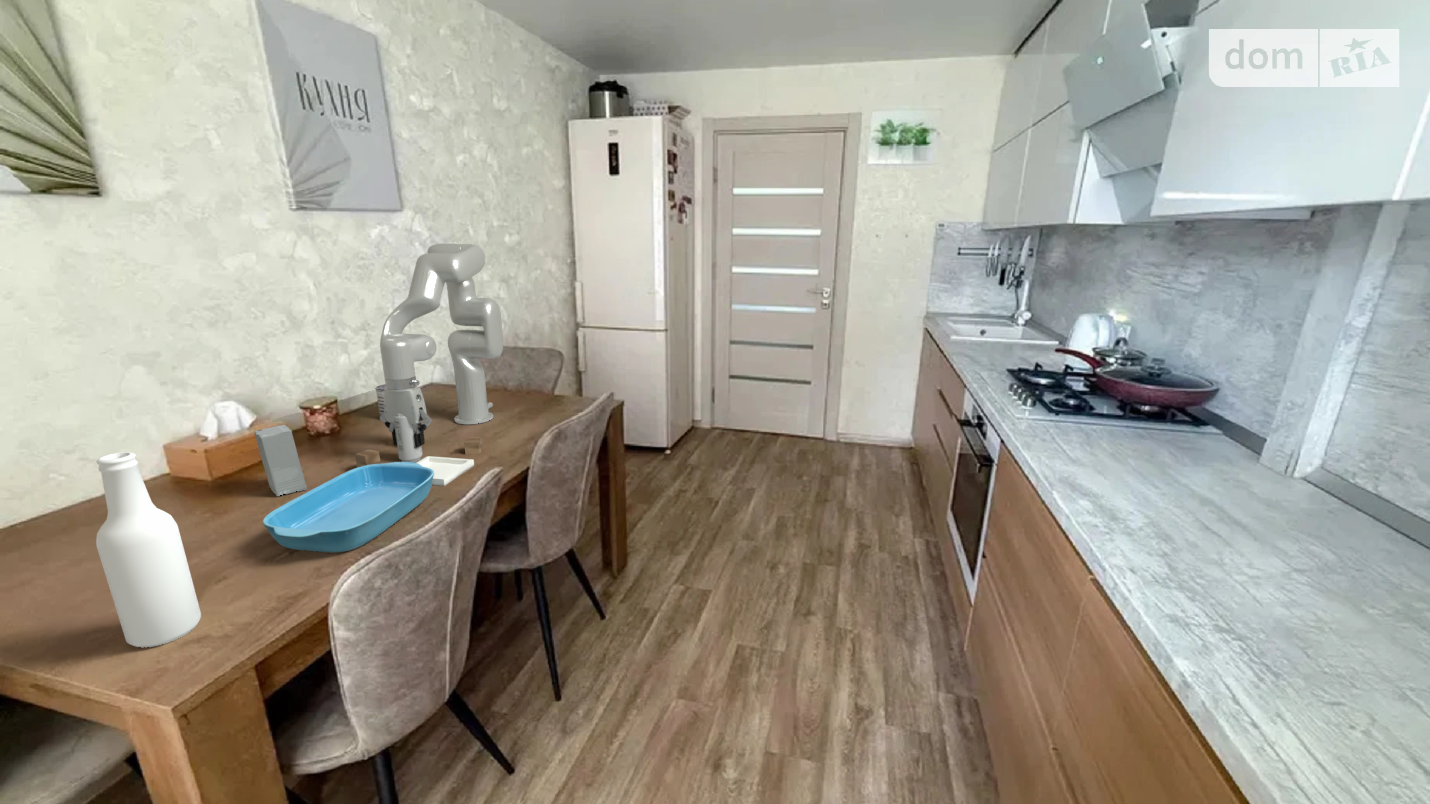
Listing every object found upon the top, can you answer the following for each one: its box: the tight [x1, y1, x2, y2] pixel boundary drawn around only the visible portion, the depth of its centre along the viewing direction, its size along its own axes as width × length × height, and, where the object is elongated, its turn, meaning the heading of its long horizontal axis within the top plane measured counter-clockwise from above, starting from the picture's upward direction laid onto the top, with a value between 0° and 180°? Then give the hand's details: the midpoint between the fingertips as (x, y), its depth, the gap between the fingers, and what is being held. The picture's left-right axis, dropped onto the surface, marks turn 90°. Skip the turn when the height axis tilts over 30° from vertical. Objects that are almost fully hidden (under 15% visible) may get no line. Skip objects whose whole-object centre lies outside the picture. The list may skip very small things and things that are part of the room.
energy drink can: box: [393, 413, 423, 463], centre depth 160 cm, size 6×6×15 cm
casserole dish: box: [262, 461, 434, 553], centre depth 127 cm, size 37×22×7 cm, turn 174°
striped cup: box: [374, 383, 386, 418], centre depth 199 cm, size 11×11×12 cm
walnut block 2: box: [463, 436, 483, 455], centre depth 169 cm, size 4×4×4 cm
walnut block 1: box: [354, 448, 382, 468], centre depth 154 cm, size 4×4×5 cm
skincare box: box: [253, 424, 308, 497], centre depth 140 cm, size 8×7×16 cm
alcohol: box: [95, 451, 202, 649], centre depth 87 cm, size 9×9×30 cm
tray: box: [415, 455, 475, 487], centre depth 153 cm, size 14×14×2 cm
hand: (409, 444), depth 161 cm, fingers closed on energy drink can, 6 cm apart
